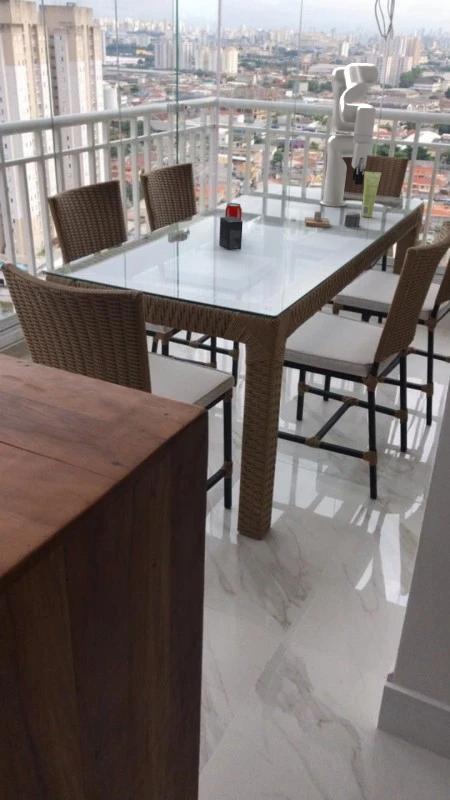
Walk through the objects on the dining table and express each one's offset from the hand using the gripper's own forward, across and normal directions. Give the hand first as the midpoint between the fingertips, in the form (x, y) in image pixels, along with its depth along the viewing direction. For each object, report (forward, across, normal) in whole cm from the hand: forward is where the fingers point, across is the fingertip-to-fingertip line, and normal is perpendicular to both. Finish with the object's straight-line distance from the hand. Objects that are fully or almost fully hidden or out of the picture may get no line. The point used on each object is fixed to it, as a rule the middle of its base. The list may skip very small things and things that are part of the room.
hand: (357, 182), depth 293 cm
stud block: (+18, +1, -15) cm, 23 cm away
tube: (+18, -20, +9) cm, 29 cm away
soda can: (+18, +29, -50) cm, 61 cm away
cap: (+18, 0, 0) cm, 18 cm away
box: (+18, +47, -50) cm, 71 cm away
